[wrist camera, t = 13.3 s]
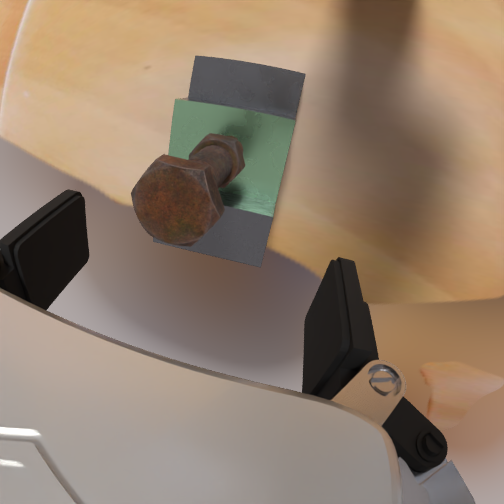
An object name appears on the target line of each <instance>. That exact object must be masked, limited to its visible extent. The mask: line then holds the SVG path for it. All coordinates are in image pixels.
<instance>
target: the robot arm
mask: <svg viewBox="0 0 504 504" xmlns="http://www.w3.org/2000/svg"><path fill="white" fill-rule="evenodd" d="M86 228H87V227H86V214H85V200H84V197H82V194H81V193H80V192H77V191H73V190H66V191H64V192H63V193H61V194H60V195H58V196H57V197H56V198H54V199H53V200H51V201H50V202H48V203H47V204H46V205H44V206H43V207H41V208H40V209H39V210H37V211H36V212H35V213H33V214H32V215H31V216H30V217H28V218H27V219H26V220H24V221H23V222H22V223H20V224H19V225H18V226H17V227H15V228H14V229H13V230H12V231H10V232H9V233H8V234H7V235H5V236H4V237H3V238H2V239H1V240H0V504H475V501H474V498H473V496H472V495H471V493H470V491H469V490H468V488H467V486H466V484H465V483H464V481H463V479H462V477H461V476H460V474H459V472H458V470H457V469H456V467H455V466H454V464H453V462H452V461H449V462H447V460H446V458H445V457H446V455H447V442H446V439H445V437H444V435H443V434H442V433H441V432H440V431H439V430H438V429H437V428H436V427H435V426H434V425H433V424H432V423H431V422H430V421H429V420H428V419H427V418H426V417H425V416H424V415H422V414H421V413H420V412H419V411H418V410H417V409H416V408H415V407H414V406H413V405H412V404H411V403H410V402H409V401H407V399H405V398H404V397H403V395H404V393H405V390H406V382H405V378H404V376H403V374H402V373H401V371H400V370H399V369H398V368H397V367H396V366H394V365H393V364H391V363H389V362H387V361H383V360H379V358H378V352H377V346H376V341H375V336H374V331H373V325H372V320H371V316H370V311H369V307H368V304H367V303H366V302H363V297H362V293H361V288H360V283H359V279H358V275H357V270H356V266H355V262H354V261H351V260H348V259H344V258H340V257H338V258H337V260H336V261H335V260H331V262H330V264H329V266H328V268H327V271H326V273H325V275H324V277H323V280H322V282H321V284H320V286H319V289H318V291H317V293H316V296H315V298H314V300H313V302H312V304H311V306H310V309H309V311H308V313H307V315H306V319H305V324H304V325H305V328H304V361H303V364H304V365H303V385H302V393H301V392H297V391H293V390H289V389H284V388H280V387H275V386H270V385H266V384H262V383H258V382H254V381H249V380H246V379H242V378H238V377H234V376H230V375H226V374H222V373H218V372H215V371H211V370H207V369H204V368H200V367H197V366H193V365H190V364H187V363H183V362H180V361H177V360H173V359H170V358H167V357H164V356H161V355H158V354H155V353H152V352H149V351H146V350H143V349H140V348H137V347H134V346H132V345H129V344H126V343H123V342H121V341H118V340H115V339H113V338H110V337H107V336H105V335H102V334H100V333H97V332H95V331H92V330H90V329H87V328H85V327H83V326H80V325H78V324H75V323H73V322H71V321H68V320H66V319H64V318H62V317H59V316H57V315H55V314H53V313H50V312H48V311H46V310H47V309H48V308H49V306H50V305H51V304H52V303H53V301H54V300H55V299H56V298H57V297H58V295H59V294H60V293H61V292H62V291H63V289H64V288H65V287H66V286H67V285H68V283H69V282H70V281H71V280H72V279H73V278H74V276H75V275H76V274H77V273H78V272H79V271H80V270H81V269H82V267H83V266H84V265H85V264H86V263H87V261H88V259H89V248H88V238H87V229H86Z"/></svg>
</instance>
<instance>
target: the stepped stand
mask: <svg viewBox="0 0 504 504" xmlns="http://www.w3.org/2000/svg"><path fill="white" fill-rule="evenodd" d="M304 79H305V74H304V73H300V72H295V71H291V70H286V69H282V68H277V67H272V66H267V65H261V64H256V63H250V62H244V61H237V60H230V59H223V58H214V57H205V56H195V61H194V66H193V72H192V77H191V83H190V89H189V96H188V98H183V99H181V98H178V99H175V104H174V111H173V119H172V127H171V135H170V144H169V154H168V155H169V156H174V157H178V158H182V159H186V160H188V159H189V154H190V153H191V152H192V150H193V149H194V148H195V147H196V146H197V145H198V144H199V142H200V141H201V140H202V139H203V138H204V137H205V136H206V135H208V134H209V133H213V134H219V135H224V136H234V137H236V138H237V139H238V141H239V142H241V144H242V146H243V157H244V161H245V167H244V169H243V170H242V171H241V172H240V173H239V174H238V175H237V176H236V177H235V178H234V179H233V180H232V181H231V182H230V183H229V184H228V185H227V186H226V187H225V188H220V187H219V188H218V191H219V194H220V197H221V200H222V202H223V205H224V208H225V211H224V213H223V215H222V216H221V218H220V219H219V220H218V221H217V222H216V223H215V224H214V226H213V227H212V228H211V229H210V230H209V231H208V232H207V233H206V234H205V235H204V236H203V237H202V238H201V239H199V240H198V241H197V242H196V243H195V244H194V245H193V246H191V247H187V246H177V245H171V244H168V243H165V242H162V241H160V240H158V239H156V238H154V237H153V241H154V242H157V243H161V244H165V245H169V246H173V247H177V248H181V249H186V250H189V251H194V252H198V253H202V254H206V255H211V256H215V257H219V258H223V259H227V260H232V261H236V262H240V263H245V264H248V265H253V266H257V267H261V264H262V260H263V255H264V252H265V248H266V244H267V240H268V236H269V232H270V228H271V224H272V220H273V216H274V210H275V203H276V199H277V195H278V191H279V187H280V183H281V179H282V175H283V171H284V167H285V163H286V158H287V154H288V150H289V146H290V142H291V138H292V134H293V130H294V125H295V121H296V119H295V117H296V112H297V108H298V104H299V100H300V96H301V91H302V87H303V83H304Z"/></svg>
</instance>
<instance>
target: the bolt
mask: <svg viewBox="0 0 504 504" xmlns="http://www.w3.org/2000/svg"><path fill="white" fill-rule="evenodd" d="M244 167H245V161H244V157H243V146H242V144H241V142H239V141H238V139H237V138H236V137H234V136H224V135H219V134H213V133H209V134H208V135H206V136H205V137H204V138H203V139H202V140H201V141H200V142H199V144H198V145H197V146H196V147H195V148H194V149H193V150H192V152H191V153H190V154H189V159H188V160H186V159H182V158H178V157H174V156H169V155H165V154H163V155H162V156H160V157H159V158H157V159H156V160H155V161H154V162H153V163H152V164H151V165H150V167H149V168H148V169H147V170H146V171H145V173H144V174H143V175H142V177H141V178H140V180H139V181H138V182H137V184H136V185H135V187H134V188H133V190H132V192H131V196H132V202H133V206H134V210H135V212H136V215H137V217H138V219H139V221H140V223H141V225H142V226H143V228H144V229H145V230H146V231H147V232H148V234H150V235H151V236H153V237H154V238H156V239H158V240H160V241H162V242H165V243H168V244H171V245H177V246H187V247H191V246H193V245H194V244H195V243H196V242H197V241H198V240H199V239H201V238H202V237H203V236H204V235H205V234H206V233H207V232H208V231H209V230H210V229H211V228H212V227H213V226H214V224H215V223H216V222H217V221H218V220H219V219H220V218H221V216H222V215H223V213H224V211H225V208H224V205H223V202H222V200H221V197H220V194H219V191H218V188H219V187H220V188H225V187H226V186H227V185H228V184H229V183H230V182H231V181H232V180H233V179H234V178H235V177H236V176H237V175H238V174H239V173H240V172H241V171H242V170H243V169H244Z"/></svg>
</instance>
